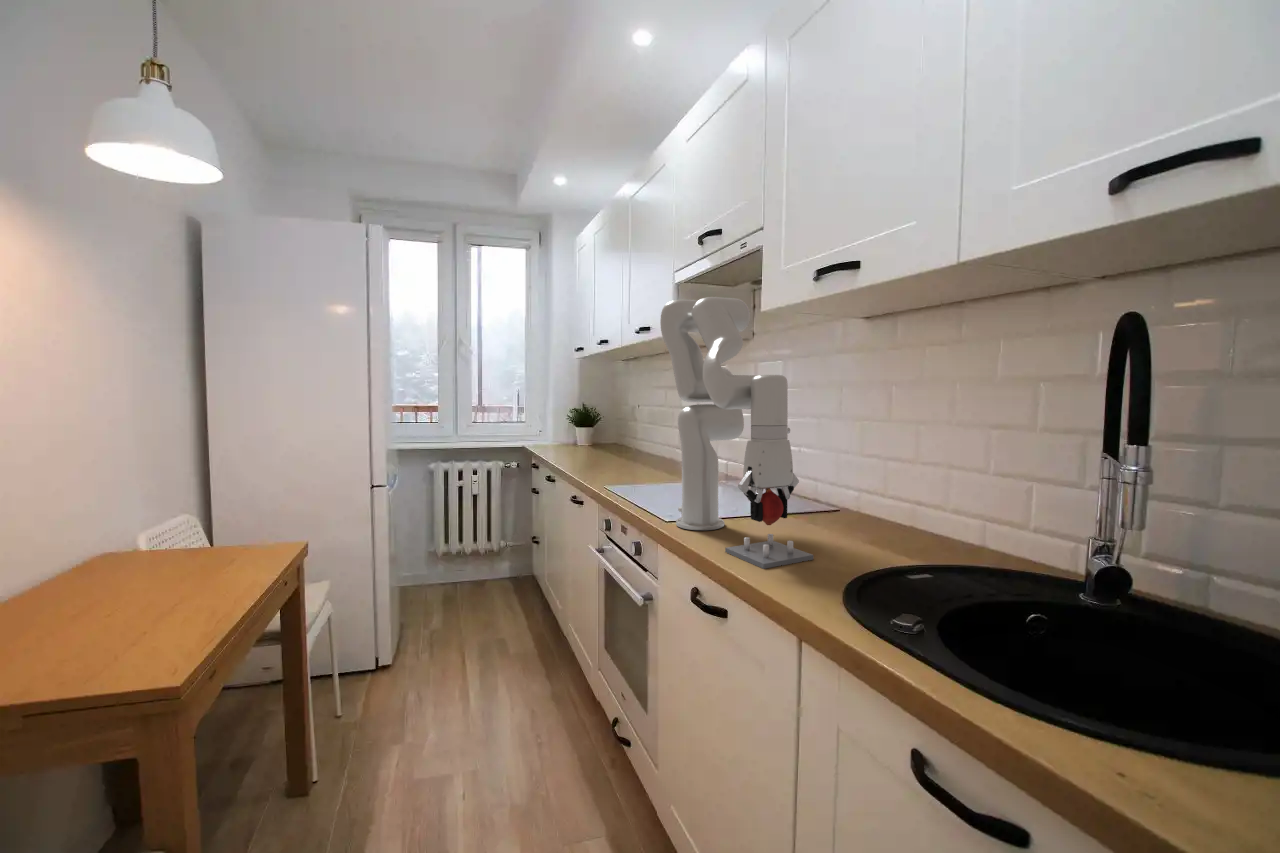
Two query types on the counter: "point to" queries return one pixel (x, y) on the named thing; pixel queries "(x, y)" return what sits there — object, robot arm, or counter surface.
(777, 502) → the onion
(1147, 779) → the counter surface
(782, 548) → the pin tray
